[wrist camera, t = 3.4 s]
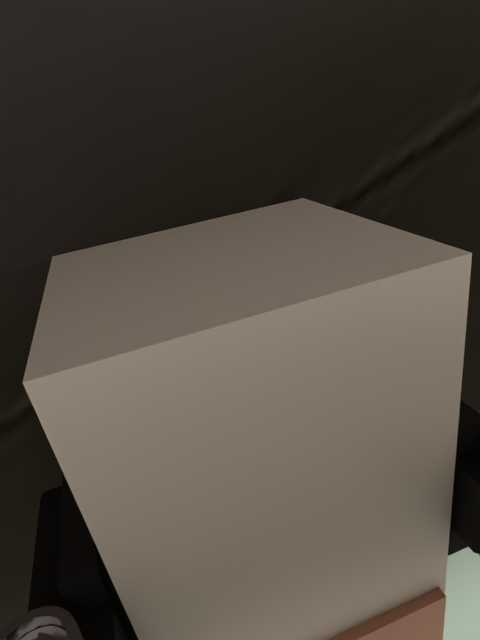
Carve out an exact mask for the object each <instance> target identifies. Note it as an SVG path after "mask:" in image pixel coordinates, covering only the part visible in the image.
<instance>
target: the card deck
mask: <svg viewBox="0 0 480 640" xmlns="http://www.w3.org/2000/svg"><path fill="white" fill-rule="evenodd" d="M471 262H472V253H471V252H468V251H465V250H462V249H459V248H456V247H452V246H449V245H446V244H443V243H440V242H437V241H434V240H431V239H428V238H425V237H422V236H419V235H415V234H412V233H409V232H406V231H403V230H400V229H397V228H394V227H391V226H388V225H385V224H382V223H378V222H375V221H372V220H369V219H366V218H363V217H360V216H357V215H354V214H351V213H348V212H345V211H341V210H338V209H335V208H332V207H329V206H326V205H323V204H320V203H317V202H314V201H311V200H307V199H304V198H301V199H297V200H292V201H288V202H284V203H279V204H275V205H271V206H266V207H262V208H258V209H254V210H249V211H245V212H241V213H236V214H232V215H228V216H223V217H219V218H215V219H211V220H206V221H202V222H198V223H193V224H189V225H185V226H181V227H176V228H172V229H168V230H163V231H159V232H155V233H151V234H146V235H142V236H138V237H133V238H129V239H125V240H120V241H116V242H112V243H108V244H103V245H99V246H95V247H90V248H86V249H82V250H78V251H73V252H69V253H65V254H60V255H56V256H52V260H51V265H50V269H49V273H48V277H47V281H46V286H45V290H44V294H43V298H42V302H41V307H40V311H39V315H38V319H37V323H36V328H35V332H34V336H33V340H32V345H31V349H30V353H29V357H28V361H27V366H26V370H25V374H24V378H23V382H22V383H23V385H24V387H25V389H26V392H27V394H28V396H29V398H30V401H31V403H32V405H33V407H34V409H35V412H36V414H37V416H38V418H39V420H40V423H41V425H42V427H43V429H44V432H45V434H46V436H47V438H48V440H49V443H50V445H51V447H52V449H53V451H54V454H55V456H56V458H57V460H58V463H59V465H60V467H61V469H62V471H63V474H64V476H65V478H66V480H67V482H68V485H69V487H70V489H71V491H72V493H73V496H74V498H75V500H76V502H77V505H78V507H79V509H80V511H81V513H82V516H83V518H84V520H85V522H86V524H87V527H88V529H89V531H90V533H91V536H92V538H93V540H94V542H95V544H96V547H97V549H98V551H99V553H100V555H101V558H102V560H103V562H104V564H105V567H106V569H107V571H108V573H109V575H110V578H111V580H112V582H113V584H114V586H115V589H116V591H117V593H118V595H119V598H120V600H121V602H122V604H123V606H124V609H125V611H126V613H127V615H128V617H129V620H130V622H131V624H132V626H133V628H134V631H135V633H136V635H137V637H138V640H443V631H444V619H445V607H446V595H445V584H446V572H447V559H448V547H449V534H450V522H451V510H452V497H453V485H454V472H455V460H456V448H457V435H458V423H459V410H460V398H461V386H462V373H463V361H464V348H465V336H466V324H467V311H468V299H469V286H470V274H471Z"/></svg>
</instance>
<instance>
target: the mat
mask: <svg viewBox="0 0 480 640" xmlns="http://www.w3.org/2000/svg"><path fill="white" fill-rule="evenodd" d="M445 595H446V607H445V619H444V631H443V640H480V556H479V554H477V553H474V552H473V551H472V550H471V549H470V548H469V547H467V548H464V549H462V550H460V551H458V552H456V553H454V554H452V555H448V559H447V572H446V584H445Z"/></svg>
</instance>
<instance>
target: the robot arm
mask: <svg viewBox="0 0 480 640" xmlns="http://www.w3.org/2000/svg"><path fill="white" fill-rule="evenodd" d="M467 547H469V548H470V549H471V550H472V551H473V552H474V553H477V554H479V556H480V414H479V413H478V412H476V411H475V410H474V409H472V408H471V407H470V406H468V405H467V404H465V403H464V402H463V401H461V400H460V410H459V423H458V435H457V448H456V460H455V472H454V485H453V497H452V510H451V522H450V534H449V547H448V555H452V554H454V553H456V552H458V551H460V550H462V549H464V548H467ZM0 640H138V637H137V635H136V633H135V631H134V628H133V626H132V624H131V622H130V620H129V617H128V615H127V613H126V611H125V609H124V606H123V604H122V602H121V600H120V598H119V595H118V593H117V591H116V589H115V586H114V584H113V582H112V580H111V578H110V575H109V573H108V571H107V569H106V567H105V564H104V562H103V560H102V558H101V555H100V553H99V551H98V549H97V547H96V544H95V542H94V540H93V538H92V536H91V533H90V531H89V529H88V527H87V524H86V522H85V520H84V518H83V516H82V513H81V511H80V509H79V507H78V505H77V502H76V500H75V498H74V496H73V493H72V491H71V489H70V487H69V485H68V482H67V480H66V478H65V476H64V474H63V485H62V486H60V487H57V488H54V489H51V490H48V491H45V492H44V493H43V494H42V496H41V501H40V509H39V518H38V527H37V536H36V545H35V554H34V562H33V571H32V580H31V589H30V598H29V606H28V612H27V613H25V614H23V615H21V616H20V617H18V618H16V619H15V620H14V621H13V622H11V623H10V624H9V625H8V626H7V627H5V628H4V629H3V630H2V631H1V632H0Z"/></svg>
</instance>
